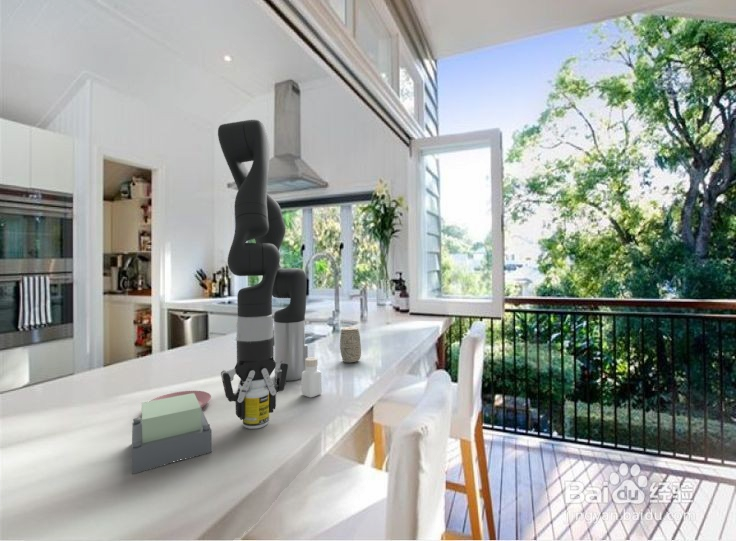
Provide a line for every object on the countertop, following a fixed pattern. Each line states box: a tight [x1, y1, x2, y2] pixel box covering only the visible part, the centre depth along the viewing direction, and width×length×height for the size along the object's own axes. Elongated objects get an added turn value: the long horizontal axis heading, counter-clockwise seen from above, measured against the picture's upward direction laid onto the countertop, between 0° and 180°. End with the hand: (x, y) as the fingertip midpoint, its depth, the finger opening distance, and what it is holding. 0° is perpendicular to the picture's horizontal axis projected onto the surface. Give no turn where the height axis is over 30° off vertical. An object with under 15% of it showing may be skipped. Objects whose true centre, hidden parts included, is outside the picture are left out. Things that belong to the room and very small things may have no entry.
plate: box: [150, 390, 212, 410], centre depth 83 cm, size 14×14×2 cm
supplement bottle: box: [242, 379, 270, 430], centre depth 75 cm, size 5×5×10 cm
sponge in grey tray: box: [131, 393, 213, 475], centre depth 65 cm, size 12×12×8 cm
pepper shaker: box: [301, 356, 323, 399], centre depth 92 cm, size 4×4×10 cm
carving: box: [339, 326, 362, 364], centre depth 124 cm, size 6×8×12 cm
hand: (256, 414), depth 75 cm, fingers closed on supplement bottle, 5 cm apart
